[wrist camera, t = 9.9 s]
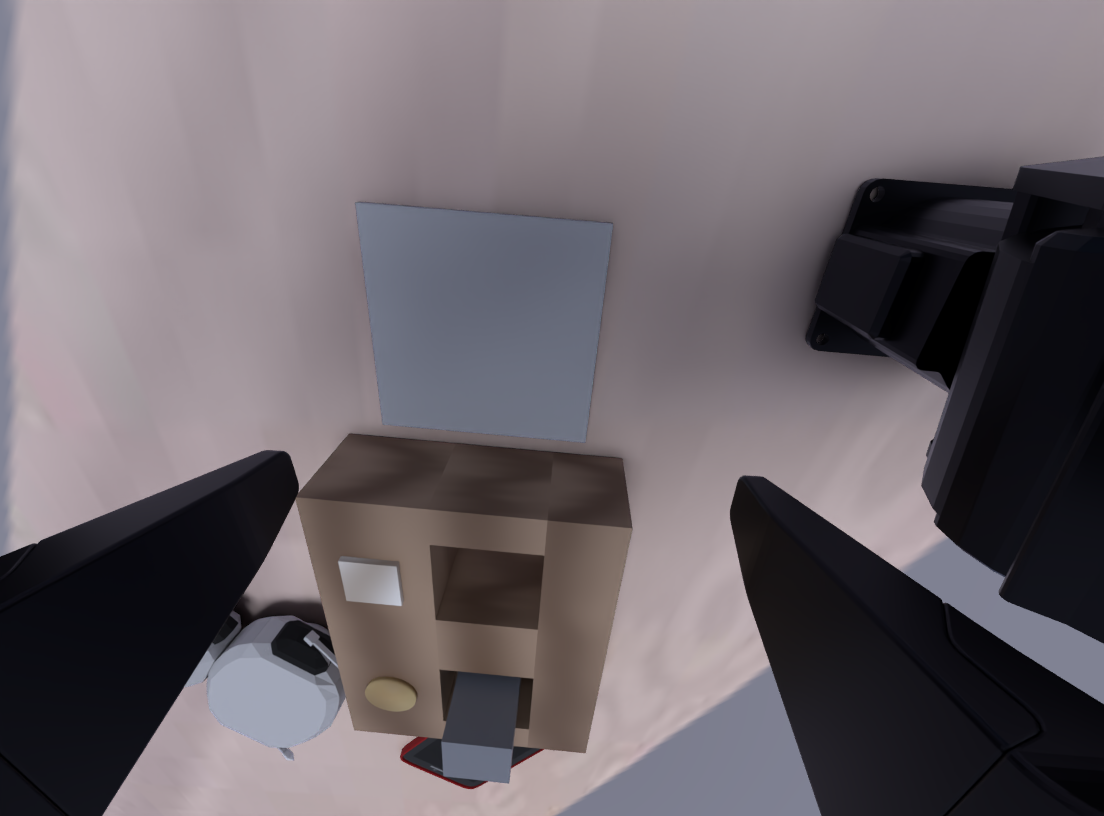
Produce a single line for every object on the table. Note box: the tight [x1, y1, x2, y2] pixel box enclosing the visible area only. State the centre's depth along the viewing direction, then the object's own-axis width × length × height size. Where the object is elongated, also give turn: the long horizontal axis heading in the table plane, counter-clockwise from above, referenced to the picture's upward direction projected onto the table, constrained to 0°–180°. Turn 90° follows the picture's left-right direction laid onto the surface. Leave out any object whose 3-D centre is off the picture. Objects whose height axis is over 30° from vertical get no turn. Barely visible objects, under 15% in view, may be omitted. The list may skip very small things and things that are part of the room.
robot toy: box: [184, 611, 346, 760], centre depth 30 cm, size 12×4×15 cm
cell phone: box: [400, 737, 544, 789], centre depth 36 cm, size 8×15×1 cm, turn 140°
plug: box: [441, 671, 521, 783], centre depth 26 cm, size 3×3×8 cm
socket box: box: [296, 434, 633, 753], centre depth 25 cm, size 14×18×5 cm
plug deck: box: [355, 202, 613, 443], centre depth 20 cm, size 10×10×1 cm
